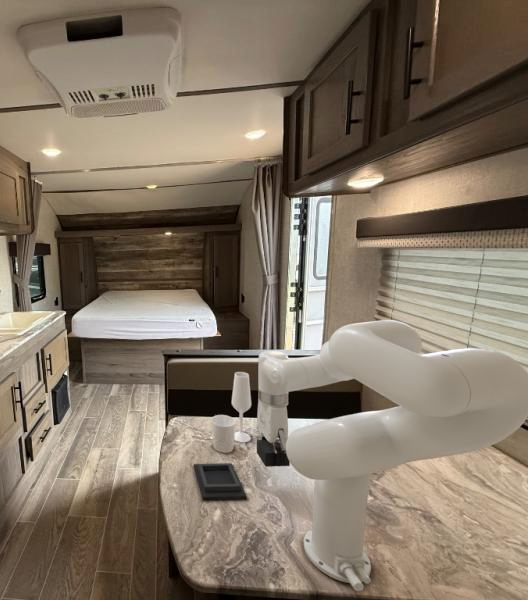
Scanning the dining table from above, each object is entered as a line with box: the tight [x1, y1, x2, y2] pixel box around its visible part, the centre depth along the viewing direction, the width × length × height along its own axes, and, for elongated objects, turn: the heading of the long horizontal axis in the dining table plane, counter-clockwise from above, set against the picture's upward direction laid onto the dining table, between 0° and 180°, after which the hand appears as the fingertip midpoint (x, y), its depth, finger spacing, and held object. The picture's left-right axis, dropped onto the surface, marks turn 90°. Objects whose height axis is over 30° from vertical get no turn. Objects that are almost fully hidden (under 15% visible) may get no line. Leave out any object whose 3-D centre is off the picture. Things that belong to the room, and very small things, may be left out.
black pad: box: [256, 438, 291, 468], centre depth 91 cm, size 6×6×4 cm
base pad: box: [193, 462, 247, 501], centre depth 97 cm, size 14×12×2 cm
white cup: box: [211, 414, 236, 454], centre depth 113 cm, size 8×8×10 cm
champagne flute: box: [231, 371, 252, 443], centre depth 118 cm, size 7×7×24 cm
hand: (272, 456), depth 91 cm, fingers closed on black pad, 6 cm apart
